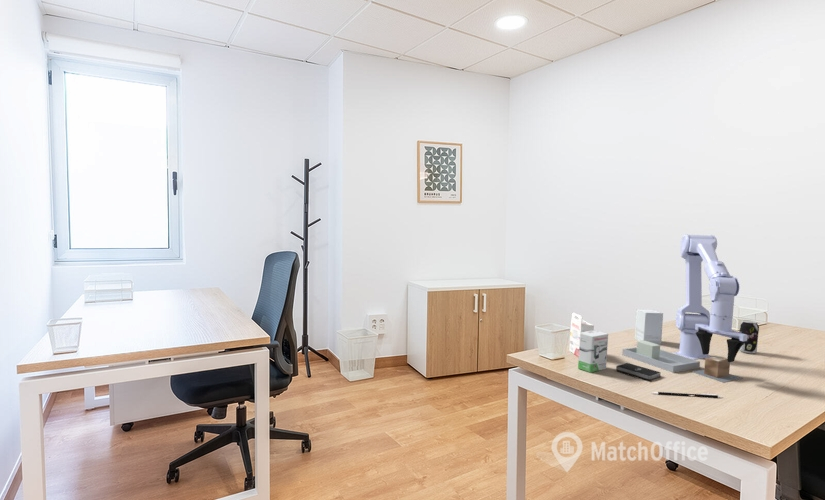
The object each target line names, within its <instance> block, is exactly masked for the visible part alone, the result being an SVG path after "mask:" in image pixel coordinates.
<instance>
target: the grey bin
mask: <svg viewBox="0 0 825 500" xmlns="http://www.w3.org/2000/svg"><path fill="white" fill-rule="evenodd" d="M621 353H622V354H621V355H622V356H624V357H626V358H630V359H632V360H636V361H638V362H641V363H644V364H647V365H649V366H653V367H656V368H659V369H661V370H665V371H667V372H670V373H678V372H686V371H692V370H698V369H700V367H701V361H698V360H697V359H696V360H694V359H690V358H687V357H684V356H681V355H677V354H674V352H670V351H666V350H663V349H660V357H659V359H657V360H656V359H653V358H650V357H647V356H644V355H641V354H638V353H637V346H636V347H630V348H629V347H628V348H622V351H621Z"/></svg>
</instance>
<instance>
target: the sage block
mask: <svg viewBox="0 0 825 500" xmlns="http://www.w3.org/2000/svg"><path fill="white" fill-rule="evenodd" d="M636 347H637V353H638V354H641V355H644V356H647V357H650V358H653V359H656V360H657V359H659V357H660V350H661V344H655V343H651V342H648V341H638V340H637V342H636Z"/></svg>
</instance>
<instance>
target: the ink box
mask: <svg viewBox="0 0 825 500" xmlns="http://www.w3.org/2000/svg"><path fill="white" fill-rule="evenodd" d="M608 345H609V333H606V332H603V331H599V330H594V331H587V332H581V333H580V345H579V357H578V362H577V363H578V364H577V369H580V370H583V371H585V372H589V373H594V372H599V371H602V370H606V369H607V361H608V360H607V359H608V358H607V357H608Z"/></svg>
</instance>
